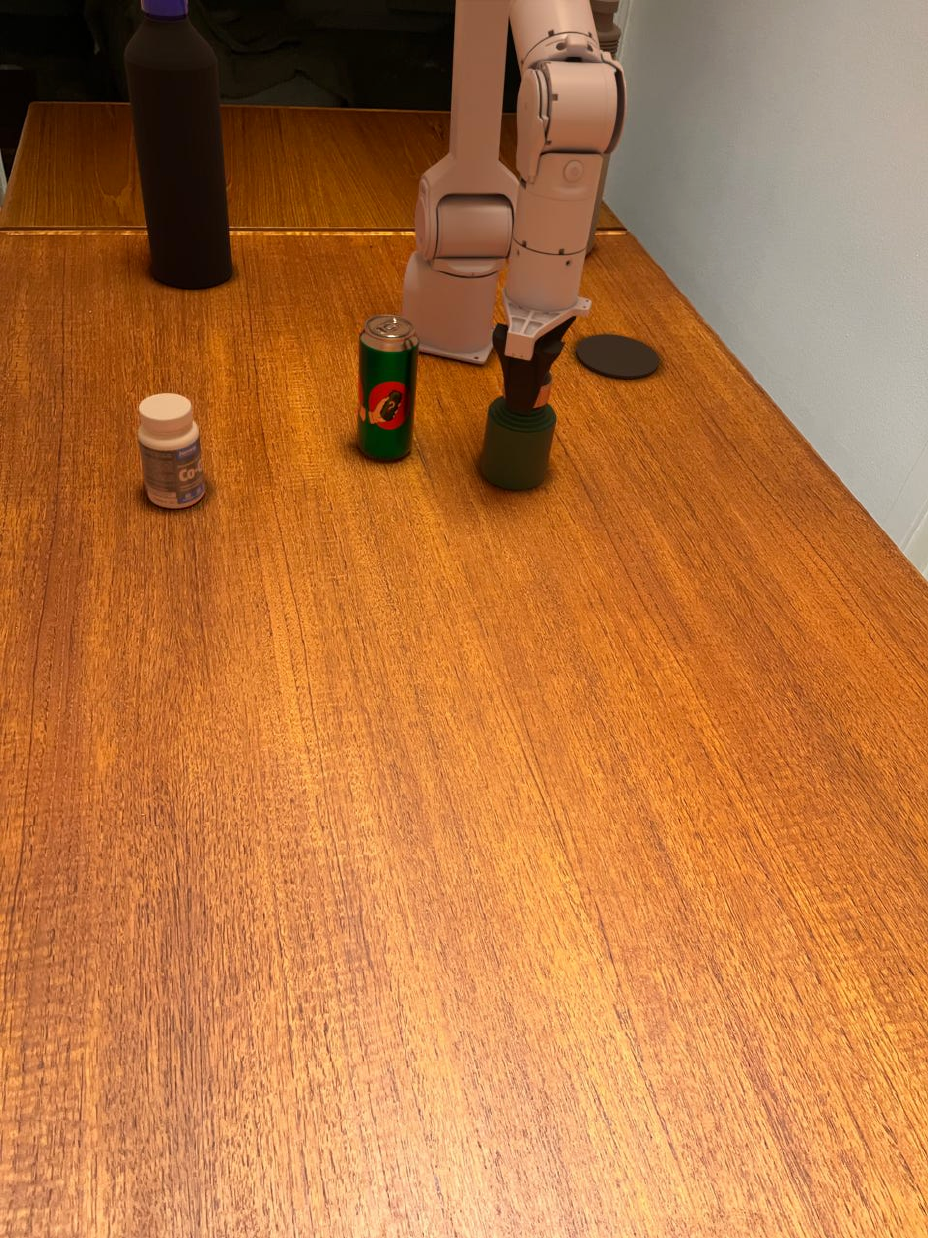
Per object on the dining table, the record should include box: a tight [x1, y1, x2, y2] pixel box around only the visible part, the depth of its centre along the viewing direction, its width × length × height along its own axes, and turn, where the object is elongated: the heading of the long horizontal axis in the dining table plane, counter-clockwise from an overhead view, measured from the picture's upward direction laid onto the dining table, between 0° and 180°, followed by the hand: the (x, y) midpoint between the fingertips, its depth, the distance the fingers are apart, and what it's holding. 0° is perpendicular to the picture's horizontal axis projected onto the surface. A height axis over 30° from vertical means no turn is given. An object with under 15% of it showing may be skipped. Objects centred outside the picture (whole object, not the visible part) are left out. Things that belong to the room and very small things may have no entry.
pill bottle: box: [137, 392, 206, 509], centre depth 78 cm, size 5×5×8 cm
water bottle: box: [585, 0, 622, 256], centre depth 116 cm, size 10×10×28 cm
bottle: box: [123, 0, 233, 289], centre depth 101 cm, size 9×9×28 cm
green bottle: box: [479, 394, 558, 491], centre depth 85 cm, size 6×6×9 cm
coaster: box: [575, 333, 660, 380], centre depth 105 cm, size 9×9×1 cm
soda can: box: [356, 314, 420, 461], centre depth 85 cm, size 5×5×12 cm
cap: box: [501, 371, 553, 408], centre depth 82 cm, size 4×4×2 cm
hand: (525, 396), depth 83 cm, fingers closed on cap, 4 cm apart
